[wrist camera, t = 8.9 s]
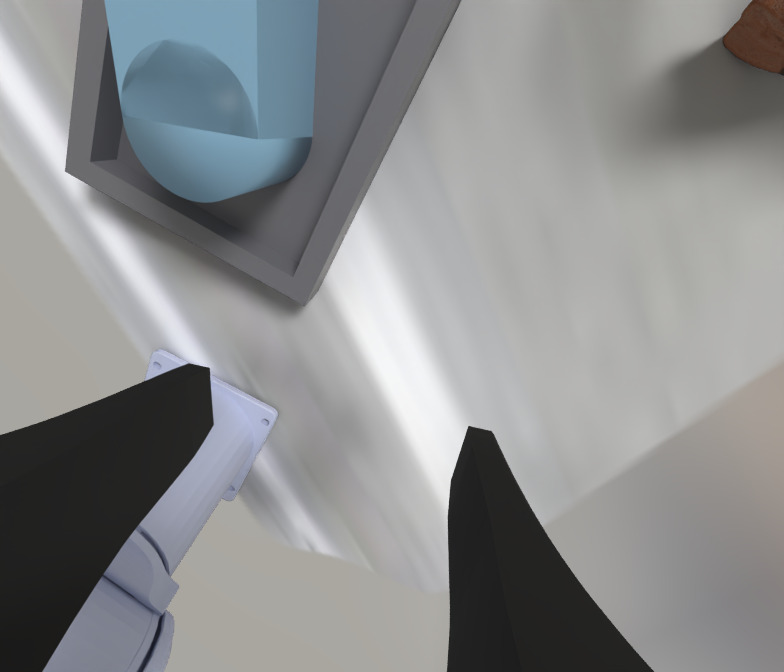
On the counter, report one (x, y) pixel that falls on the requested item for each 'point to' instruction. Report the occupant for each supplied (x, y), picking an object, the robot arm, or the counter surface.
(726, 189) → the counter surface
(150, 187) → the tray
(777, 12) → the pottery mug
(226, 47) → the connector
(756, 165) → the counter surface
